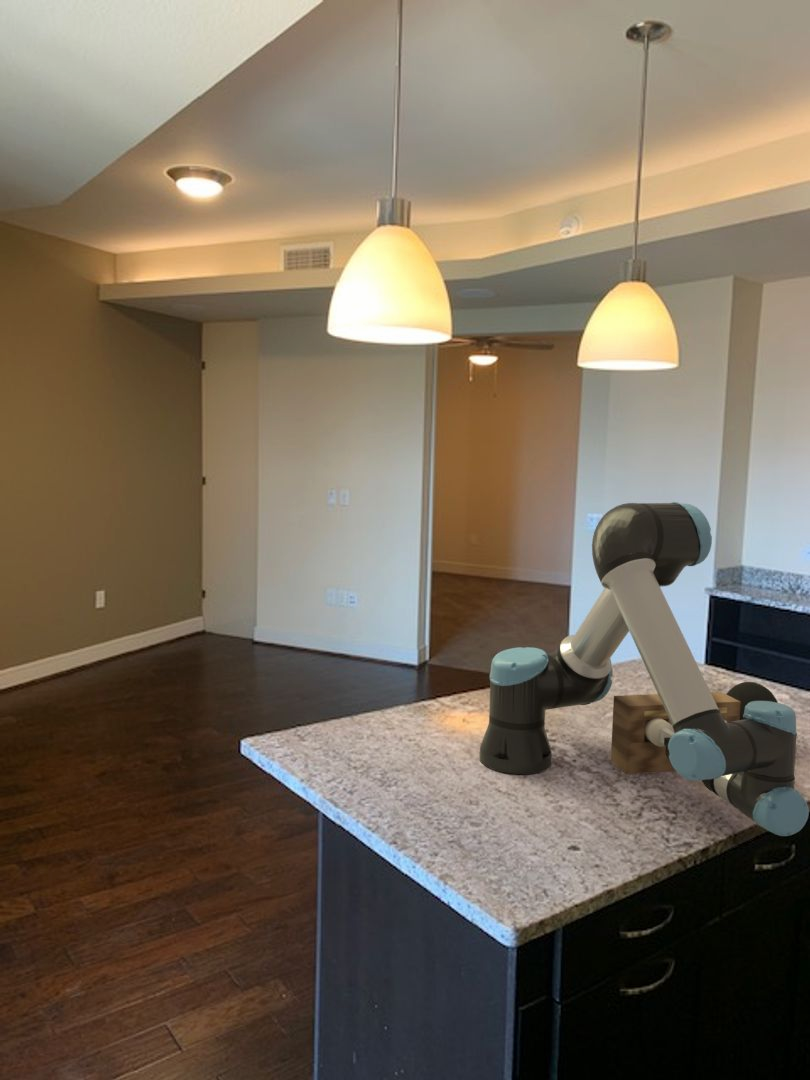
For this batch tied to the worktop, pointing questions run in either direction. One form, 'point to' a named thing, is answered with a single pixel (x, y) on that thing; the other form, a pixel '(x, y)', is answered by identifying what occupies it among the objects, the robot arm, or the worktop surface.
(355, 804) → the worktop surface
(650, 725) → the knob
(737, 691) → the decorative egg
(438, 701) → the worktop surface
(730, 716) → the mount
